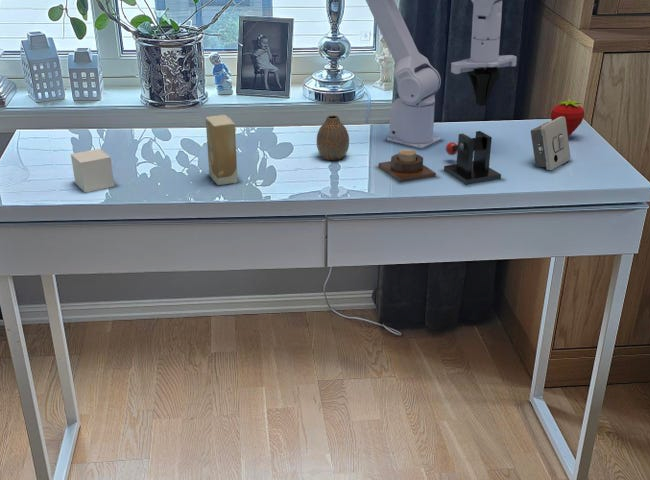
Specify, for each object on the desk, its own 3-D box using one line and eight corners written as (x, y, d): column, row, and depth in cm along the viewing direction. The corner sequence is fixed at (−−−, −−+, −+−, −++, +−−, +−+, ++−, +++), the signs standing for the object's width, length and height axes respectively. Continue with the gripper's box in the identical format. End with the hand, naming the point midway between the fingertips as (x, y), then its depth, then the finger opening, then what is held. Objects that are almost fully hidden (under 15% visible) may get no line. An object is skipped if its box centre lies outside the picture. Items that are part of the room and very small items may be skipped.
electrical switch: (550, 172, 184) (552, 127, 180) (527, 169, 187) (528, 124, 183) (570, 160, 191) (573, 116, 186) (548, 158, 194) (550, 114, 189)
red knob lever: (444, 156, 189) (442, 143, 188) (455, 154, 190) (453, 142, 189) (473, 151, 178) (471, 137, 178) (484, 149, 179) (482, 136, 178)
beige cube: (75, 183, 179) (70, 153, 176) (104, 177, 182) (100, 148, 179) (85, 192, 175) (80, 162, 172) (114, 186, 178) (110, 157, 175)
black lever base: (443, 171, 185) (446, 131, 181) (477, 165, 188) (480, 126, 183) (466, 185, 178) (469, 144, 174) (500, 179, 181) (504, 139, 176)
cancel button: (395, 158, 184) (395, 150, 183) (410, 156, 185) (411, 148, 184) (403, 164, 181) (403, 155, 180) (419, 161, 182) (419, 153, 181)
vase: (353, 154, 194) (353, 113, 189) (343, 164, 189) (343, 123, 184) (323, 150, 196) (322, 110, 191) (312, 160, 190) (311, 119, 186)
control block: (378, 167, 187) (378, 153, 185) (412, 162, 190) (412, 148, 188) (400, 183, 179) (401, 168, 178) (435, 177, 182) (436, 163, 180)
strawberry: (544, 134, 206) (549, 90, 201) (576, 133, 206) (583, 89, 201) (551, 142, 201) (557, 97, 196) (584, 141, 201) (591, 96, 196)
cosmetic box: (208, 175, 183) (204, 116, 176) (229, 172, 184) (225, 113, 178) (217, 186, 178) (213, 125, 171) (238, 183, 179) (235, 122, 173)
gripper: (465, 44, 177) (461, 113, 184) (527, 37, 182) (521, 104, 189) (447, 38, 182) (444, 105, 190) (507, 31, 187) (502, 96, 194)
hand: (481, 104), depth 190 cm, fingers closed
